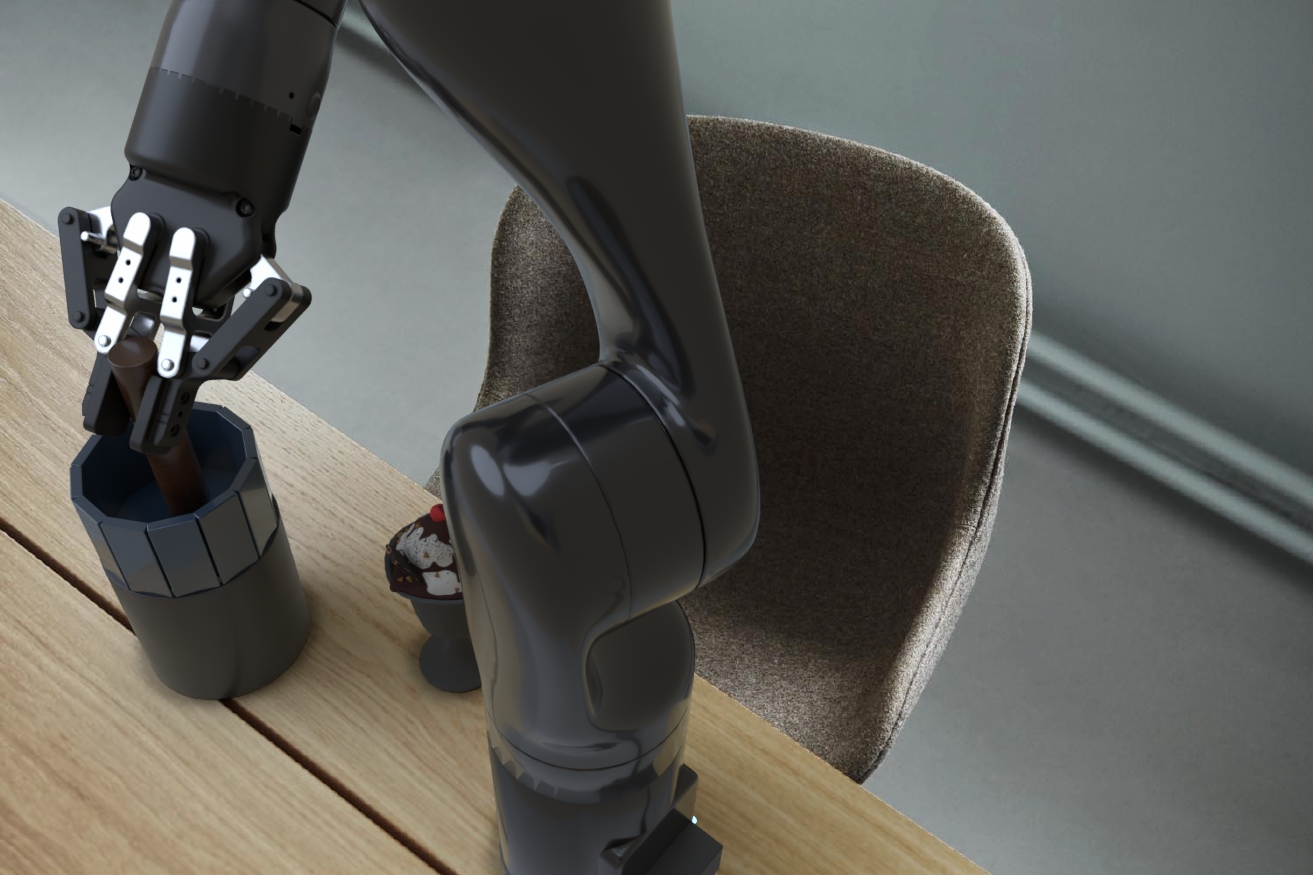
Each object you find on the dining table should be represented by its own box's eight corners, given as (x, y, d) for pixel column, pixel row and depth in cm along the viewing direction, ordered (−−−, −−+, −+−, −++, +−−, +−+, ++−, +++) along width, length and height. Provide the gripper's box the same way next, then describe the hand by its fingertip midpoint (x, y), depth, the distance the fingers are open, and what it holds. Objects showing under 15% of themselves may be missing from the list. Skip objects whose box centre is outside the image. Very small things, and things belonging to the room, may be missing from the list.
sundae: (523, 617, 73) (512, 456, 62) (503, 710, 68) (487, 553, 57) (420, 606, 73) (391, 443, 62) (393, 698, 68) (356, 539, 57)
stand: (342, 625, 72) (315, 522, 64) (211, 730, 66) (166, 630, 59) (246, 546, 76) (211, 441, 68) (116, 638, 70) (62, 534, 63)
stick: (224, 507, 62) (166, 341, 54) (203, 537, 61) (140, 371, 52) (187, 498, 63) (123, 332, 54) (166, 528, 61) (96, 362, 53)
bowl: (310, 523, 64) (292, 456, 61) (167, 625, 59) (137, 560, 55) (210, 444, 68) (187, 376, 64) (68, 534, 63) (33, 467, 59)
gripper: (59, 30, 52) (-51, 392, 53) (314, 105, 49) (192, 492, 49) (169, 85, 59) (71, 402, 60) (398, 154, 56) (290, 490, 57)
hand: (126, 441), depth 55 cm, fingers closed on stick, 2 cm apart
